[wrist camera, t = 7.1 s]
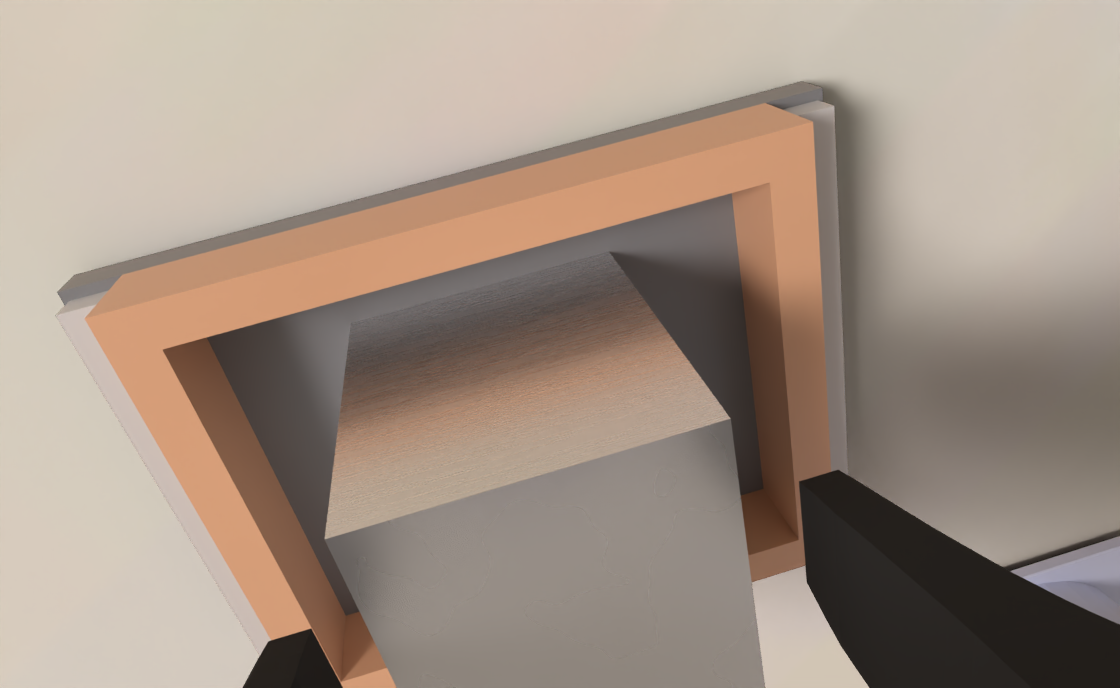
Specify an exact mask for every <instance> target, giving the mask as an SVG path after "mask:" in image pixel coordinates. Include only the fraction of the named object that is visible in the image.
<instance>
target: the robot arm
mask: <svg viewBox="0 0 1120 688" xmlns="http://www.w3.org/2000/svg"><path fill="white" fill-rule="evenodd" d="M799 490H800V503H801V515H802V527H803V540H804V552H805V565H806V577H807V583H808V585H809V587H810V589H811V591H812V593H813V595H814V597H815V599H816V600H817V602H818V604H819V606H820V608H821V610H822V612H823V614H824V616H825V618H826V620H827V621H828V623H829V625H830V627H831V629H832V630H833V632H834V634H835V636H836V638H837V640H838V641H839V643H840V645H841V647H842V648H843V650H844V651H845V653H846V654H847V655H848V657H849V658H850V660H851V661H852V663H853V664H854V666H855V667H856V669H857V670H858V672H859V673H860V675H861V676H862V677H863V679H864V680H865V682H866V683H867V685H868V686H869V688H1120V536H1118V537H1115V538H1112V539H1109V540H1106V541H1102V542H1099V543H1096V544H1093V545H1090V546H1087V547H1084V548H1080V549H1077V550H1074V551H1071V552H1068V553H1065V554H1062V555H1059V556H1055V557H1052V558H1049V559H1046V560H1043V561H1040V562H1037V563H1034V564H1030V565H1027V566H1024V567H1021V568H1018V569H1015V570H1012V571H1009V570H1007V569H1005V568H1003V567H1001V566H999V565H998V564H996V563H994V562H992V561H990V560H989V559H987V558H985V557H983V556H982V555H980V554H978V553H976V552H975V551H973V550H971V549H969V548H967V547H966V546H964V545H962V544H960V543H959V542H957V541H955V540H953V539H952V538H950V537H948V536H946V535H945V534H943V533H941V532H940V531H938V530H936V529H935V528H933V527H931V526H930V525H928V524H926V523H925V522H923V521H921V520H920V519H918V518H916V517H915V516H913V515H911V514H910V513H908V512H907V511H905V510H903V509H902V508H900V507H898V506H897V505H895V504H893V503H892V502H890V501H889V500H887V499H885V498H884V497H882V496H881V495H879V494H877V493H876V492H874V491H873V490H871V489H869V488H868V487H866V486H864V485H863V484H861V483H860V482H858V481H856V480H855V479H853V478H851V477H850V476H848V475H846V474H845V473H843V472H841V471H840V470H835V471H832V472H829V473H825V474H822V475H819V476H815V477H812V478H809V479H805V480H802V481H799ZM243 688H343V687H342V685H341V683H340V681H339V679H338V677H337V675H336V674H335V672H334V670H333V668H332V666H331V664H330V662H329V660H328V659H327V657H326V655H325V653H324V651H323V649H322V647H321V645H320V644H319V642H318V640H317V638H316V636H315V634H314V632H313V631H312V629H307V630H304V631H301V632H297V633H294V634H291V635H287V636H284V637H281V638H278V639H274V640H271V641H268V643H267V644H266V646H265V648H264V649H263V651H262V653H261V655H260V657H259V658H258V660H257V662H256V664H255V666H254V667H253V669H252V671H251V673H250V675H249V677H248V679H247V680H246V682H245V684H244V686H243Z"/></svg>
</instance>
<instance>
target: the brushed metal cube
mask: <svg viewBox="0 0 1120 688" xmlns="http://www.w3.org/2000/svg"><path fill="white" fill-rule="evenodd" d="M324 540H325V542H326V544H327V546H328V548H329V550H330V552H331V554H332V556H333V558H334V560H335V562H336V564H337V566H338V568H339V570H340V572H341V574H342V577H343V579H344V581H345V583H346V585H347V587H348V589H349V591H350V593H351V595H352V597H353V599H354V601H355V603H356V605H357V607H358V609H359V611H360V613H361V616H362V618H363V620H364V622H365V624H366V626H367V628H368V630H369V632H370V634H371V636H372V638H373V640H374V642H375V644H376V646H377V648H378V650H379V652H380V655H381V657H382V659H383V661H384V663H385V665H386V667H387V669H388V671H389V673H390V675H391V677H392V679H393V681H394V683H395V685H396V687H397V688H765V683H764V675H763V667H762V659H761V652H760V644H759V636H758V628H757V620H756V613H755V605H754V597H753V589H752V581H751V574H750V566H749V558H748V550H747V542H746V534H745V527H744V519H743V511H742V503H741V495H740V488H739V480H738V472H737V464H736V456H735V449H734V441H733V433H732V425H731V418H730V417H729V416H728V414H727V413H726V412H725V410H724V409H723V407H722V406H721V405H720V403H719V402H718V401H717V399H716V398H715V396H714V395H713V394H712V392H711V391H710V390H709V388H708V387H707V386H706V384H705V383H704V381H703V380H702V379H701V377H700V376H699V375H698V373H697V372H696V370H695V369H694V368H693V366H692V365H691V364H690V362H689V361H688V359H687V358H686V357H685V355H684V354H683V353H682V351H681V350H680V348H679V347H678V346H677V344H676V343H675V342H674V340H673V339H672V337H671V336H670V335H669V333H668V332H667V331H666V329H665V328H664V326H663V325H662V324H661V322H660V321H659V320H658V318H657V317H656V316H655V314H654V313H653V311H652V310H651V309H650V307H649V306H648V305H647V303H646V302H645V300H644V299H643V298H642V296H641V295H640V294H639V292H638V291H637V289H636V288H635V287H634V285H633V284H632V283H631V281H630V280H629V278H628V277H627V276H626V274H625V273H624V272H623V270H622V269H621V267H620V266H619V265H618V263H617V262H616V261H615V259H614V258H613V256H612V255H611V254H610V252H605V253H601V254H598V255H594V256H591V257H587V258H583V259H580V260H576V261H573V262H569V263H565V264H562V265H558V266H555V267H551V268H547V269H544V270H540V271H537V272H533V273H529V274H526V275H522V276H519V277H515V278H512V279H508V280H504V281H501V282H497V283H494V284H490V285H486V286H483V287H479V288H476V289H472V290H468V291H465V292H461V293H458V294H454V295H450V296H447V297H443V298H440V299H436V300H432V301H429V302H425V303H422V304H418V305H414V306H411V307H407V308H404V309H400V310H396V311H393V312H389V313H386V314H382V315H379V316H375V317H371V318H368V319H364V320H361V321H357V322H353V323H351V325H350V333H349V342H348V350H347V358H346V366H345V375H344V383H343V391H342V399H341V407H340V416H339V424H338V432H337V440H336V449H335V457H334V465H333V473H332V481H331V490H330V498H329V506H328V514H327V523H326V531H325V539H324Z"/></svg>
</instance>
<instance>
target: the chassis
mask: <svg viewBox="0 0 1120 688" xmlns="http://www.w3.org/2000/svg"><path fill="white" fill-rule="evenodd" d="M605 252H610V254H611V255H612V256H613V258H614V259H615V261H616V262H617V263H618V265H619V266H620V267H621V269H622V270H623V272H624V273H625V274H626V276H627V277H628V278H629V280H630V281H631V283H632V284H633V285H634V287H635V288H636V289H637V291H638V292H639V294H640V295H641V296H642V298H643V299H644V300H645V302H646V303H647V305H648V306H649V307H650V309H651V310H652V311H653V313H654V314H655V316H656V317H657V318H658V320H659V321H660V322H661V324H662V325H663V326H664V328H665V329H666V331H667V332H668V333H669V335H670V336H671V337H672V339H673V340H674V342H675V343H676V344H677V346H678V347H679V348H680V350H681V351H682V353H683V354H684V355H685V357H686V358H687V359H688V361H689V362H690V364H691V365H692V366H693V368H694V369H695V370H696V372H697V373H698V375H699V376H700V377H701V379H702V380H703V381H704V383H705V384H706V386H707V387H708V388H709V390H710V391H711V392H712V394H713V395H714V396H715V398H716V399H717V401H718V402H719V403H720V405H721V406H722V407H723V409H724V410H725V412H726V413H727V414H728V416H729V417H730V418H731V425H732V433H733V441H734V449H735V456H736V464H737V472H738V480H739V488H740V495H741V503H742V511H743V519H744V527H745V534H746V542H747V550H748V558H749V566H750V574H751V581H752V582H754V581H757V580H761V579H764V578H767V577H770V576H773V575H777V574H780V573H783V572H786V571H789V570H793V569H796V568H799V567H802V566H805V552H804V540H803V527H802V515H801V503H800V490H799V481H802V480H805V479H809V478H812V477H815V476H819V475H822V474H825V473H829V472H832V471H835V470H840V471H841V472H843V473H845V474H846V475H848V455H847V428H846V402H845V376H844V349H843V323H842V296H841V270H840V244H839V217H838V191H837V165H836V138H835V112H834V105H831V104H828V103H825V102H823V91H822V87H818V86H815V85H812V84H809V83H805V82H798V83H794V84H790V85H786V86H783V87H779V88H775V89H771V90H768V91H764V92H760V93H756V94H753V95H749V96H745V97H741V98H738V99H734V100H730V101H726V102H723V103H719V104H715V105H711V106H708V107H704V108H700V109H696V110H693V111H689V112H685V113H681V114H678V115H674V116H670V117H666V118H662V119H659V120H655V121H651V122H647V123H644V124H640V125H636V126H632V127H629V128H625V129H621V130H617V131H614V132H610V133H606V134H602V135H599V136H595V137H591V138H587V139H584V140H580V141H576V142H572V143H569V144H565V145H561V146H557V147H553V148H550V149H546V150H542V151H538V152H535V153H531V154H527V155H523V156H520V157H516V158H512V159H508V160H505V161H501V162H497V163H493V164H490V165H486V166H482V167H478V168H475V169H471V170H467V171H463V172H460V173H456V174H452V175H448V176H444V177H441V178H437V179H433V180H429V181H426V182H422V183H418V184H414V185H411V186H407V187H403V188H399V189H396V190H392V191H388V192H384V193H381V194H377V195H373V196H369V197H366V198H362V199H358V200H354V201H351V202H347V203H343V204H339V205H336V206H332V207H328V208H324V209H320V210H317V211H313V212H309V213H305V214H302V215H298V216H294V217H290V218H287V219H283V220H279V221H275V222H272V223H268V224H264V225H260V226H257V227H253V228H249V229H245V230H242V231H238V232H234V233H230V234H227V235H223V236H219V237H215V238H211V239H208V240H204V241H200V242H196V243H193V244H189V245H185V246H181V247H178V248H174V249H170V250H166V251H163V252H159V253H155V254H151V255H148V256H144V257H140V258H136V259H133V260H129V261H125V262H121V263H118V264H114V265H110V266H106V267H102V268H99V269H95V270H91V271H87V272H84V273H80V274H76V275H74V276H73V277H72V278H71V279H70V280H69V281H68V282H67V283H66V284H65V285H64V286H63V287H62V288H61V289H60V290H59V291H58V292H57V293H58V295H59V296H60V298H61V300H62V301H63V303H64V305H65V306H64V307H63V308H62V309H61V310H60V311H59V312H58V313H57V314H56V315H55V316H56V317H57V319H58V321H59V322H60V324H61V326H62V327H63V329H64V331H65V332H66V334H67V336H68V337H69V339H70V341H71V342H72V344H73V346H74V347H75V349H76V351H77V352H78V354H79V356H80V357H81V359H82V361H83V362H84V364H85V366H86V367H87V369H88V371H89V372H90V374H91V376H92V377H93V379H94V381H95V382H96V384H97V386H98V387H99V389H100V391H101V392H102V394H103V396H104V397H105V399H106V401H107V402H108V404H109V406H110V407H111V409H112V411H113V412H114V414H115V416H116V417H117V419H118V421H119V422H120V424H121V426H122V427H123V429H124V431H125V432H126V434H127V436H128V437H129V439H130V441H131V442H132V444H133V446H134V447H135V449H136V451H137V452H138V454H139V456H140V457H141V459H142V461H143V462H144V464H145V466H146V467H147V469H148V471H149V472H150V474H151V476H152V477H153V479H154V481H155V482H156V484H157V486H158V487H159V489H160V491H161V492H162V494H163V496H164V497H165V499H166V501H167V502H168V504H169V506H170V507H171V509H172V511H173V512H174V514H175V516H176V517H177V519H178V521H179V522H180V524H181V526H182V527H183V529H184V531H185V532H186V534H187V536H188V537H189V539H190V541H191V542H192V544H193V546H194V547H195V549H196V551H197V552H198V554H199V556H200V557H201V559H202V561H203V562H204V564H205V566H206V567H207V569H208V571H209V572H210V574H211V576H212V577H213V579H214V581H215V582H216V584H217V586H218V587H219V589H220V591H221V592H222V594H223V596H224V597H225V599H226V601H227V602H228V604H229V606H230V607H231V609H232V611H233V612H234V614H235V616H236V617H237V619H238V621H239V622H240V624H241V626H242V627H243V629H244V631H245V632H246V634H247V636H248V637H249V639H250V641H251V642H252V644H253V646H254V647H255V649H256V651H257V652H258V654H259V656H260V655H261V653H262V651H263V649H264V648H265V646H266V644H267V643H268V641H271V640H274V639H278V638H281V637H284V636H287V635H291V634H294V633H297V632H301V631H304V630H307V629H312V631H313V632H314V634H315V636H316V638H317V640H318V642H319V644H320V645H321V647H322V649H323V651H324V653H325V655H326V657H327V659H328V660H329V662H330V664H331V666H332V668H333V670H334V672H335V674H336V675H337V677H338V679H339V681H340V683H341V685H342V687H343V688H397V687H396V685H395V683H394V681H393V679H392V677H391V675H390V673H389V671H388V669H387V667H386V665H385V663H384V661H383V659H382V657H381V655H380V652H379V650H378V648H377V646H376V644H375V642H374V640H373V638H372V636H371V634H370V632H369V630H368V628H367V626H366V624H365V622H364V620H363V618H362V616H361V613H360V611H359V609H358V607H357V605H356V603H355V601H354V599H353V597H352V595H351V593H350V591H349V589H348V587H347V585H346V583H345V581H344V579H343V577H342V574H341V572H340V570H339V568H338V566H337V564H336V562H335V560H334V558H333V556H332V554H331V552H330V550H329V548H328V546H327V544H326V542H325V540H324V539H325V531H326V523H327V514H328V506H329V498H330V490H331V481H332V473H333V465H334V457H335V449H336V440H337V432H338V424H339V416H340V407H341V399H342V391H343V383H344V375H345V366H346V358H347V350H348V342H349V333H350V325H351V323H353V322H357V321H361V320H364V319H368V318H371V317H375V316H379V315H382V314H386V313H389V312H393V311H396V310H400V309H404V308H407V307H411V306H414V305H418V304H422V303H425V302H429V301H432V300H436V299H440V298H443V297H447V296H450V295H454V294H458V293H461V292H465V291H468V290H472V289H476V288H479V287H483V286H486V285H490V284H494V283H497V282H501V281H504V280H508V279H512V278H515V277H519V276H522V275H526V274H529V273H533V272H537V271H540V270H544V269H547V268H551V267H555V266H558V265H562V264H565V263H569V262H573V261H576V260H580V259H583V258H587V257H591V256H594V255H598V254H601V253H605Z"/></svg>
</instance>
